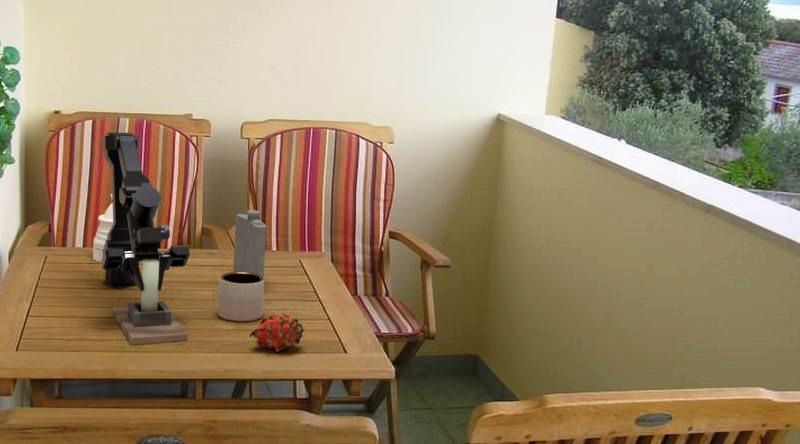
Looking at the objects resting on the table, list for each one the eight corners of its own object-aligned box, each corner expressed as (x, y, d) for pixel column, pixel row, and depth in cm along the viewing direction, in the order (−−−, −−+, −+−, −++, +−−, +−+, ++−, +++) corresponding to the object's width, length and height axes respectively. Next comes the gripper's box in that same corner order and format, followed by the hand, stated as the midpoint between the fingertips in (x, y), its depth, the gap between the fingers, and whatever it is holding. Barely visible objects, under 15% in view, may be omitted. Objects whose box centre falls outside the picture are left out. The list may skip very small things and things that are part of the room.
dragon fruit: (306, 355, 210) (253, 365, 206) (298, 324, 215) (245, 332, 212) (309, 334, 203) (253, 343, 200) (300, 302, 209) (246, 311, 205)
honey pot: (86, 254, 269) (87, 192, 266) (129, 250, 277) (131, 190, 273) (102, 265, 260) (103, 201, 256) (147, 261, 267) (149, 199, 264)
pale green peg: (146, 312, 217) (148, 258, 214) (160, 315, 216) (162, 260, 213) (137, 317, 213) (139, 261, 211) (151, 320, 212) (153, 264, 209)
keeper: (112, 313, 222) (112, 294, 221) (163, 310, 227) (164, 292, 226) (131, 345, 203) (132, 325, 202) (187, 340, 208) (188, 321, 207)
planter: (270, 313, 232) (272, 276, 230) (249, 325, 221) (251, 286, 219) (231, 306, 235) (233, 268, 233) (208, 317, 225) (210, 278, 223)
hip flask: (231, 276, 261) (235, 205, 256) (245, 275, 263) (249, 204, 259) (253, 292, 247) (257, 217, 243) (267, 291, 249) (272, 217, 245)
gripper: (105, 212, 209) (113, 274, 201) (189, 211, 217) (200, 271, 210) (98, 238, 217) (106, 299, 210) (179, 236, 226) (189, 294, 218)
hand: (151, 290), depth 212 cm, fingers closed on pale green peg, 3 cm apart
